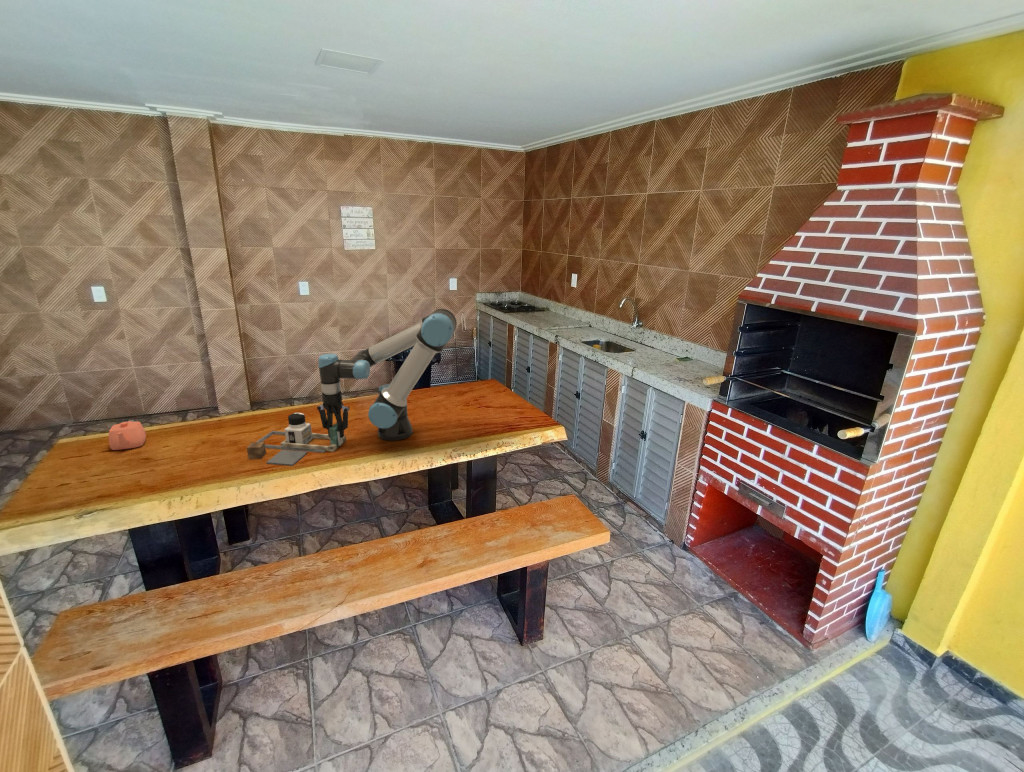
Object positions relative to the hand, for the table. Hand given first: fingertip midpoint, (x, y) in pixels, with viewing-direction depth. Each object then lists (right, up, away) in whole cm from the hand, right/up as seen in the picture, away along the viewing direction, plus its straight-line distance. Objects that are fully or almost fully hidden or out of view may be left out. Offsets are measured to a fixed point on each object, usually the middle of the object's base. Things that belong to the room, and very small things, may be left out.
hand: (337, 443), depth 208 cm
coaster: (-16, -5, -11) cm, 20 cm away
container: (-17, 0, +3) cm, 17 cm away
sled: (-10, 0, +2) cm, 10 cm away
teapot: (-86, -1, -3) cm, 86 cm away
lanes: (-18, 0, +3) cm, 18 cm away
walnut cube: (-29, -4, -9) cm, 31 cm away
